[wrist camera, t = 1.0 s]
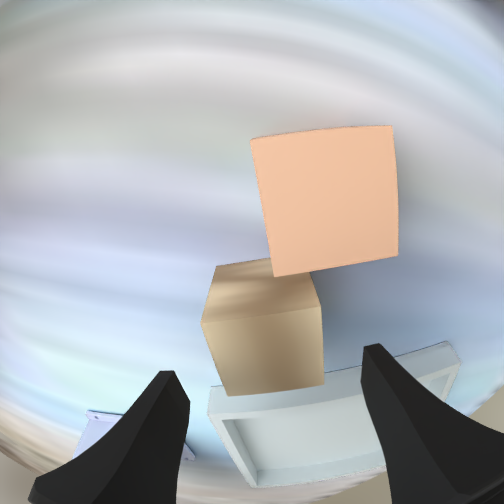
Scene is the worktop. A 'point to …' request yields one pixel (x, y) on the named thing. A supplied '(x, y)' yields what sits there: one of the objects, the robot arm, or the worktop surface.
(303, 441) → the grey tray
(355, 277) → the worktop surface
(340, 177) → the terracotta block
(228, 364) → the oak block
